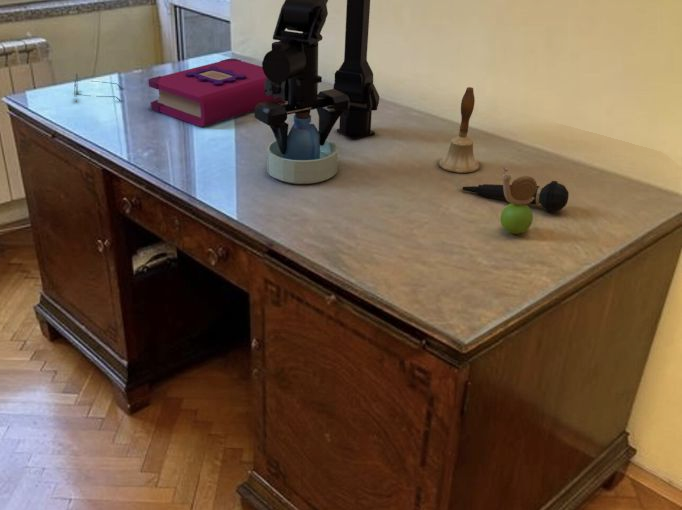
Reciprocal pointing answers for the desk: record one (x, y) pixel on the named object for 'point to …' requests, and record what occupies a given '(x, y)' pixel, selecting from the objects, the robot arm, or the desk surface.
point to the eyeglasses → (88, 95)
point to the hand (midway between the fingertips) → (302, 149)
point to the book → (211, 92)
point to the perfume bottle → (303, 139)
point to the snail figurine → (518, 203)
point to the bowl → (302, 165)
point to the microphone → (548, 196)
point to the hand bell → (462, 141)
